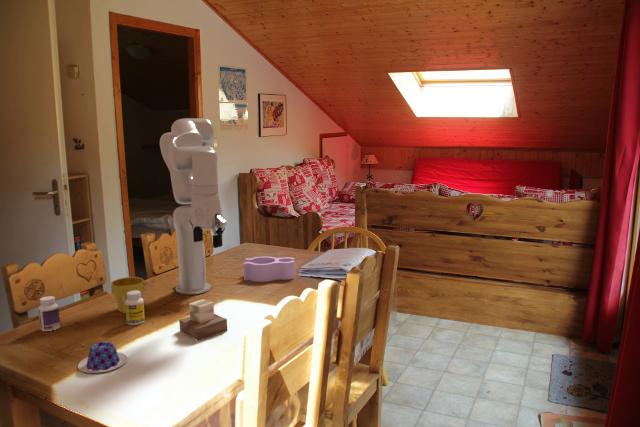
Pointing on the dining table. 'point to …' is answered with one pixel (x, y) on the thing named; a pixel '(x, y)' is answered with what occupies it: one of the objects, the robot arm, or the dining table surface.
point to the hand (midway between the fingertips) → (207, 244)
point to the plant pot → (125, 289)
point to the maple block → (201, 311)
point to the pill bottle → (49, 314)
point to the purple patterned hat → (102, 358)
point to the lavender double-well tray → (269, 268)
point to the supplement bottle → (134, 308)
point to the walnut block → (203, 327)
